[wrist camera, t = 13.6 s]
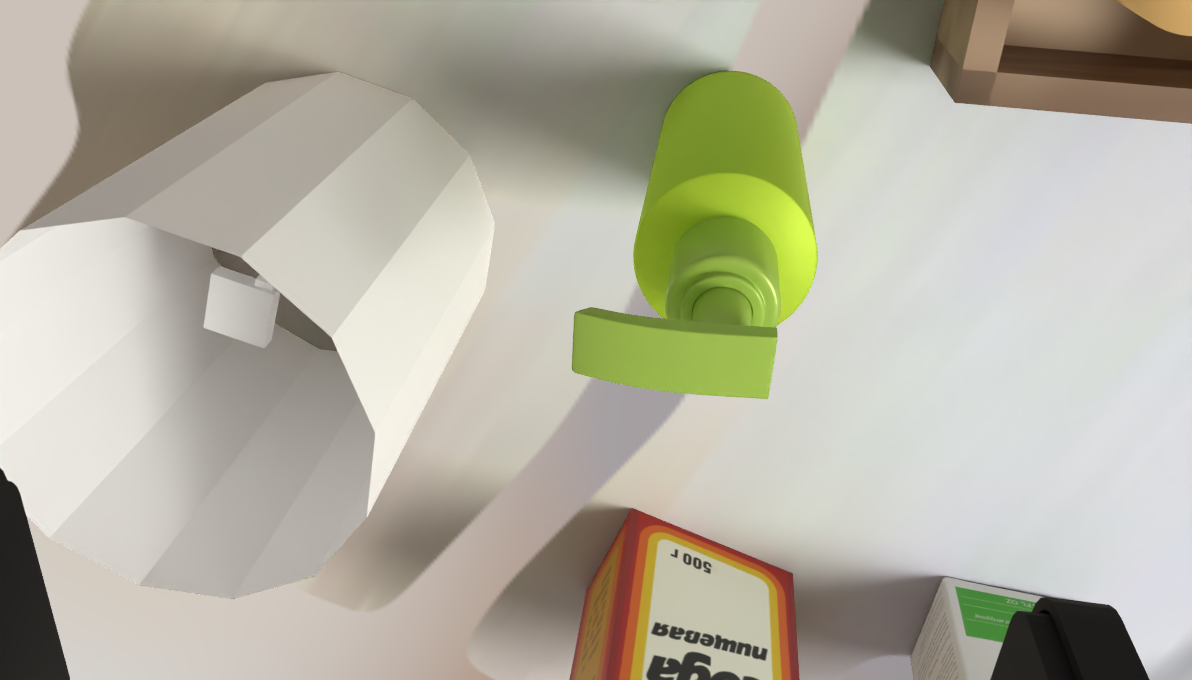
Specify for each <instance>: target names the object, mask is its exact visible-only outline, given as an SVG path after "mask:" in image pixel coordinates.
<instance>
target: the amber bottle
mask: <svg viewBox="0 0 1192 680" xmlns="http://www.w3.org/2000/svg"><path fill="white" fill-rule="evenodd" d="M1115 1H1116V2H1118V3H1120V4H1121V5H1123V6H1124V7H1126V8H1128V9H1129V10H1131V11H1133V12H1134V13H1136V14H1138V15H1139V16H1141V17H1142V18H1144V19H1146V20H1147V21H1149V22H1151V23H1152V24H1154V25H1155V26H1157V27H1159V28H1161V29H1163V30H1166V31H1169V32H1172V33H1175V34H1179V35H1185V36H1192V0H1115Z"/></svg>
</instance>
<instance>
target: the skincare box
mask: <svg viewBox="0 0 1192 680" xmlns="http://www.w3.org/2000/svg"><path fill="white" fill-rule="evenodd" d="M1040 598H1043V597H1042V596H1037V595H1031V594H1026V593H1021V592H1016V591H1011V590H1006V589H1001V588H996V587H991V586H986V585H982V584H977V583H972V582H967V581H963V580H958V579H954V578H949V577H944V578H943V579H942V581H941V584H940V586H939V588H938V591H937V593H936V596H935V598H934V601H933V603H932V606H931V608H930V611H929V613H928V616H927V618H926V621H925V623H924V625H923V628H922V631H921V633H920V635H919V638H918V640H917V643H916V645H915V647H914V650H913V652H912V654H911V657H910V658H911V665H912V671H913V678H914V680H990V679H991V676H992V673H993V670H994V667H995V664H996V661H997V658H998V656H999V653H1000V650H1001V647H1002V644H1003V641H1004V638H1005V635H1006V632H1007V629H1008V626H1009V623H1010V621H1011V619H1012V616H1013V615H1014V613H1015V612H1016V611H1028V612H1032V610H1033V608H1034V606H1035V604H1036V602H1037V601H1038V600H1039V599H1040Z"/></svg>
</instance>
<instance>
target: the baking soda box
mask: <svg viewBox="0 0 1192 680" xmlns="http://www.w3.org/2000/svg"><path fill="white" fill-rule="evenodd" d="M570 680H800V679H799V664H798V649H797V634H796V618H795V603H794V588H793V574H792V573H790V572H787V571H785V570H782V569H780V568H778V567H775V566H773V565H770V564H768V563H765V562H763V561H760V560H758V559H756V558H753V557H751V556H748V555H746V554H743V553H741V552H738V551H736V550H734V549H731V548H729V547H726V546H724V545H721V544H719V543H716V542H714V541H711V540H709V539H707V538H704V537H702V536H699V535H697V534H694V533H692V532H689V531H687V530H685V529H682V528H680V527H677V526H675V525H672V524H670V523H667V522H665V521H663V520H660V519H658V518H655V517H653V516H650V515H648V514H645V513H643V512H641V511H638V510H636V509H633V508H632V509H631V511H630V513H629V515H628V516H627V518H626V520H625V522H624V524H623V525H622V527H621V529H620V531H619V533H618V535H617V536H616V538H615V540H614V542H613V544H612V545H611V547H610V549H609V551H608V553H607V555H606V556H605V558H604V560H603V562H602V564H601V565H600V567H599V569H598V571H597V573H596V575H595V576H594V578H593V580H592V582H591V584H590V585H589V587H588V589H587V592H586V597H585V602H584V607H583V613H582V618H581V623H580V628H579V633H578V638H577V644H576V649H575V654H574V659H573V664H572V670H571V675H570Z"/></svg>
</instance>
